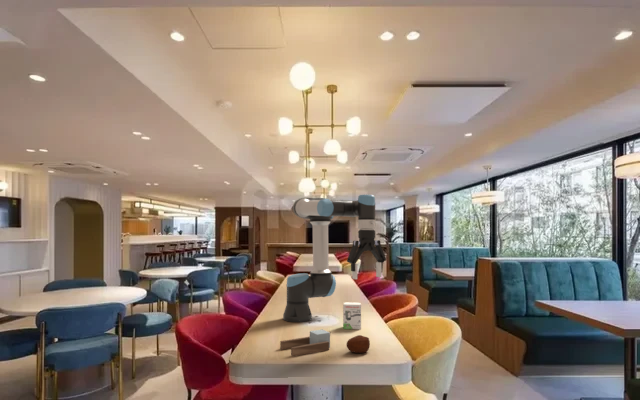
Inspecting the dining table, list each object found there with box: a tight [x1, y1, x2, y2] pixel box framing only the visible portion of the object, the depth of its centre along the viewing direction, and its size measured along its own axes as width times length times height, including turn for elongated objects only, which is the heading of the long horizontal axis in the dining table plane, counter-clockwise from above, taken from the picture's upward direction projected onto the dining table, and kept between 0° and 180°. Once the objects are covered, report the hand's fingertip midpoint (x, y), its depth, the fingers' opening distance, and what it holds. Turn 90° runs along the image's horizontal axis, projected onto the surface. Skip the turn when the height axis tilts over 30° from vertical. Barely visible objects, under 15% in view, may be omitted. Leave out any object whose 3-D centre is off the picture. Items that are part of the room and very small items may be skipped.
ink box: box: [342, 301, 362, 330], centre depth 191 cm, size 9×5×12 cm, turn 88°
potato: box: [345, 335, 371, 354], centre depth 153 cm, size 7×9×6 cm
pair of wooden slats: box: [279, 336, 330, 357], centre depth 157 cm, size 11×16×3 cm
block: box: [309, 329, 331, 349], centre depth 160 cm, size 6×6×6 cm
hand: (367, 278), depth 174 cm, fingers open, 13 cm apart
